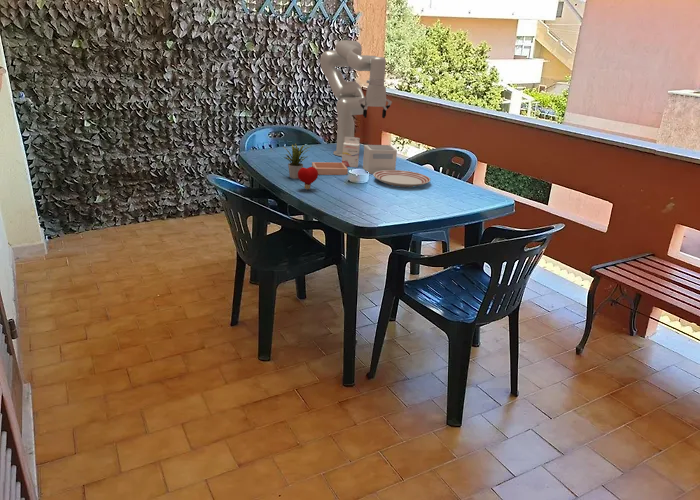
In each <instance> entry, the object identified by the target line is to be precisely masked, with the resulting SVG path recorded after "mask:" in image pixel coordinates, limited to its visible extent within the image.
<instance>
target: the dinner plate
mask: <svg viewBox="0 0 700 500" xmlns="http://www.w3.org/2000/svg"><path fill="white" fill-rule="evenodd" d="M372 175H373V177H374V179H376V180H377V181H379V182H382V183H384V184H385V183H386V184H385V185H388V186H391V185H393V186H392V187H396V186H400V187H399V188H414V187H413V186H416V187H419V186H423V185H426V184H428V183H429V182H431V178H430V177H429V176H427V175H425V174H422V173H419V172H415V171H414V172H413V171H410V170H409V171H408V170H400V169H398V170H397V169H395V170H383V171H377V172H375V173H374V174H372Z"/></svg>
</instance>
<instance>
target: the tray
mask: <svg viewBox="0 0 700 500" xmlns="http://www.w3.org/2000/svg"><path fill="white" fill-rule="evenodd" d="M311 167H314V168H316V169H317V171H318V176H319V175H321V176H322V175H323V176H325V175H326V176H327V175H328V176H338V175H339V176H347V175H348V172H349V171H348V169H349V168H348V167H347V166H345V165H344V163H342V162H330V161H329V162H322V161H321V162H320V161H319V162H318V161H316V162H315V161H314V162H313V161H312V162H311ZM346 174H347V175H346Z"/></svg>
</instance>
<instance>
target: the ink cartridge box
mask: <svg viewBox="0 0 700 500" xmlns="http://www.w3.org/2000/svg"><path fill="white" fill-rule="evenodd" d="M350 139H353V140H354V141H351V140H350ZM360 140H361V138H360V137H355V136H354V137H345V139H344V144H343V152H342V156H341V163H344V165H345V166H346V167H347V168H348V167H350V168H359V167H358V166H359V161H360V160H359V159H360V148H361V146H360V145H361V144H360V142H361V141H360Z"/></svg>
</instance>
